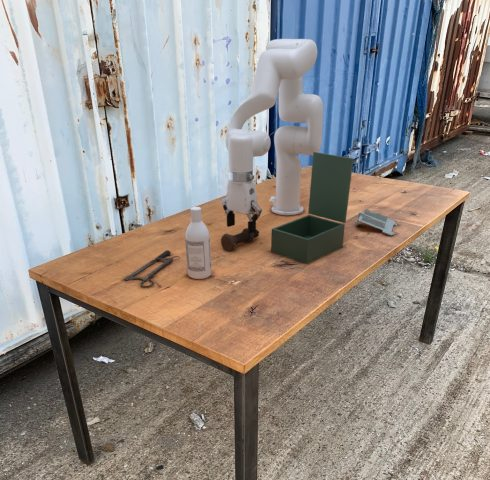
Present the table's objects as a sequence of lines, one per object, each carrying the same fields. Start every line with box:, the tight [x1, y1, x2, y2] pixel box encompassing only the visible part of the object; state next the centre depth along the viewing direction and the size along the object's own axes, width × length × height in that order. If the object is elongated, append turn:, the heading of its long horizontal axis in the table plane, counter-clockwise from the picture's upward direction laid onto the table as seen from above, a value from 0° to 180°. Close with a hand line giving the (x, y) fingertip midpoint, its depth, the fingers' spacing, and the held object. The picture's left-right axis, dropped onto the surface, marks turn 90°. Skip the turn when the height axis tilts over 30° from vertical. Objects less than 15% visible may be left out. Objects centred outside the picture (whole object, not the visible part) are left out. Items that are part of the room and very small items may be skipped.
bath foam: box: [184, 206, 212, 280], centre depth 143 cm, size 7×7×20 cm
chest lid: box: [307, 152, 354, 224], centre depth 163 cm, size 20×15×5 cm
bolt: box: [220, 227, 260, 252], centre depth 168 cm, size 6×5×15 cm
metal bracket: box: [354, 208, 398, 236], centre depth 181 cm, size 14×6×15 cm
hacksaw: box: [124, 249, 181, 288], centre depth 151 cm, size 24×10×2 cm, turn 153°
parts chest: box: [270, 214, 346, 265], centre depth 162 cm, size 19×15×8 cm
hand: (241, 229), depth 166 cm, fingers open, 9 cm apart
